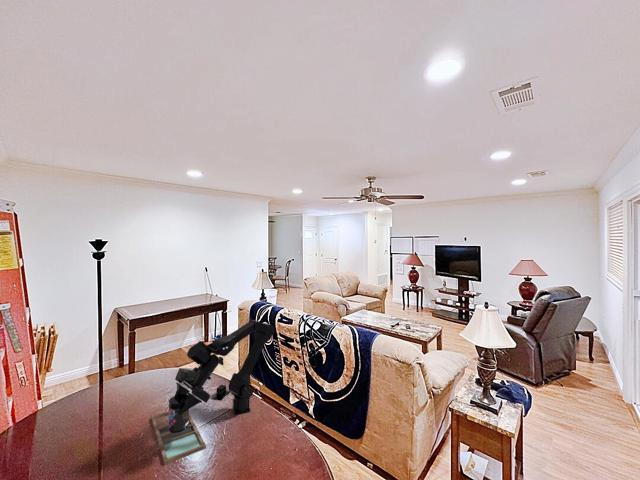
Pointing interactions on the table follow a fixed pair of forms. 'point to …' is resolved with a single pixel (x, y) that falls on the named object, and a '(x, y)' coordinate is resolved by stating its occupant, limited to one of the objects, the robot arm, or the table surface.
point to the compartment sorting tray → (177, 440)
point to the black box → (220, 393)
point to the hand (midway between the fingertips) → (175, 410)
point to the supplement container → (175, 420)
